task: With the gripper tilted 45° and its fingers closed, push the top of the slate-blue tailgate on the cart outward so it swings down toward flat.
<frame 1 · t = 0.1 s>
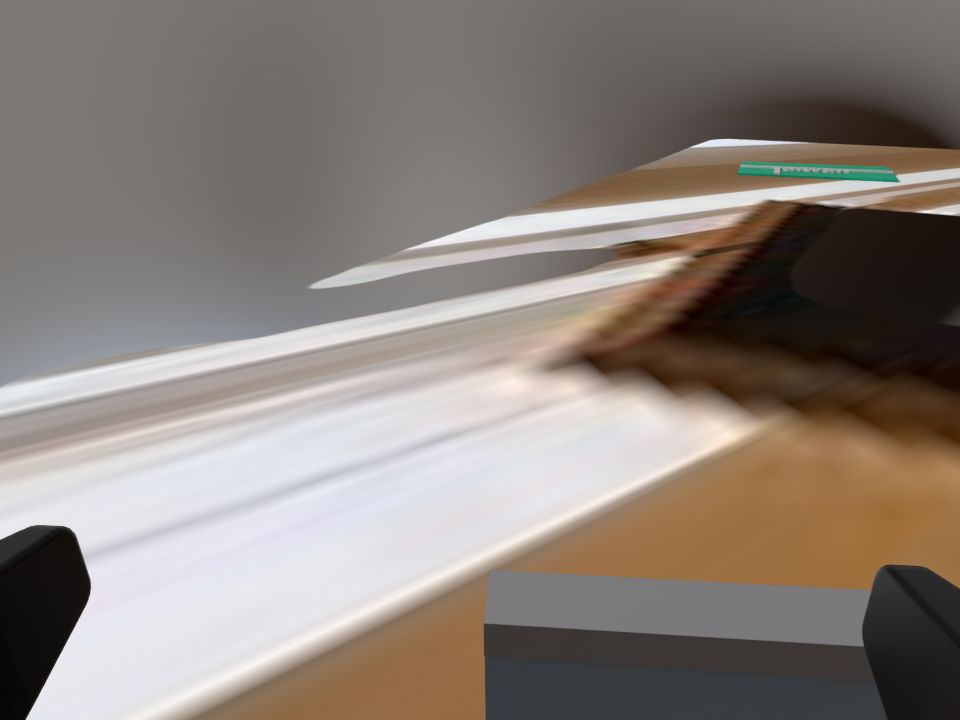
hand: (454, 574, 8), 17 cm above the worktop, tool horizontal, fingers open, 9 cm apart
sign: (812, 175, 131), on the worktop
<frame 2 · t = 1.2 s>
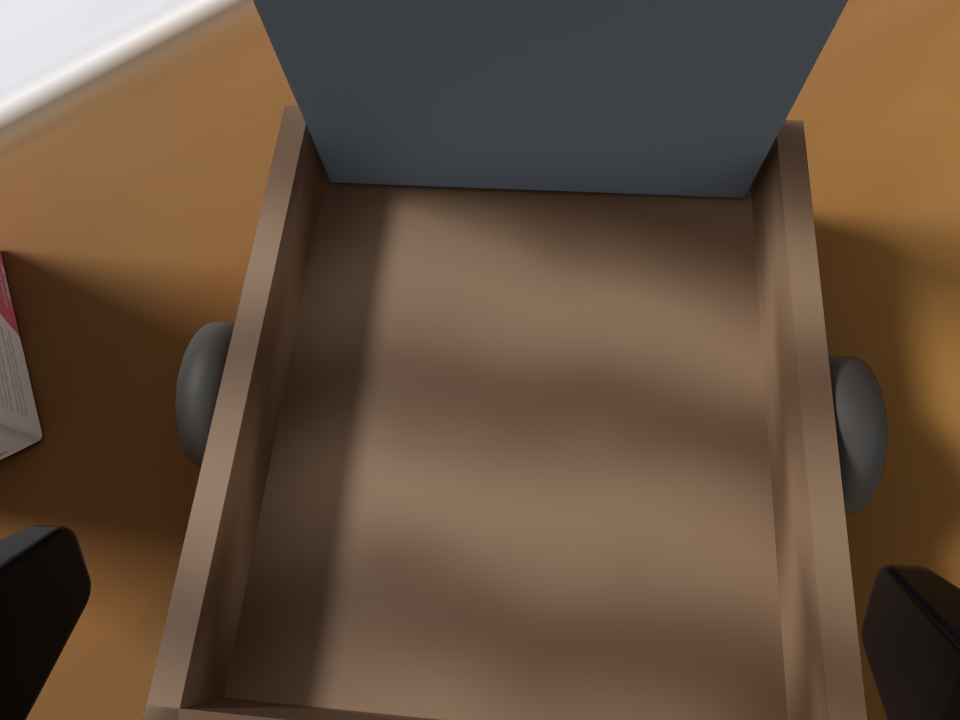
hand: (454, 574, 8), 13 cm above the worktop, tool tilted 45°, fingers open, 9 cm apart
tailgate: (537, 58, 18), point 7 cm above the worktop, hinge at 0.0°
cart: (518, 432, 22), on the worktop
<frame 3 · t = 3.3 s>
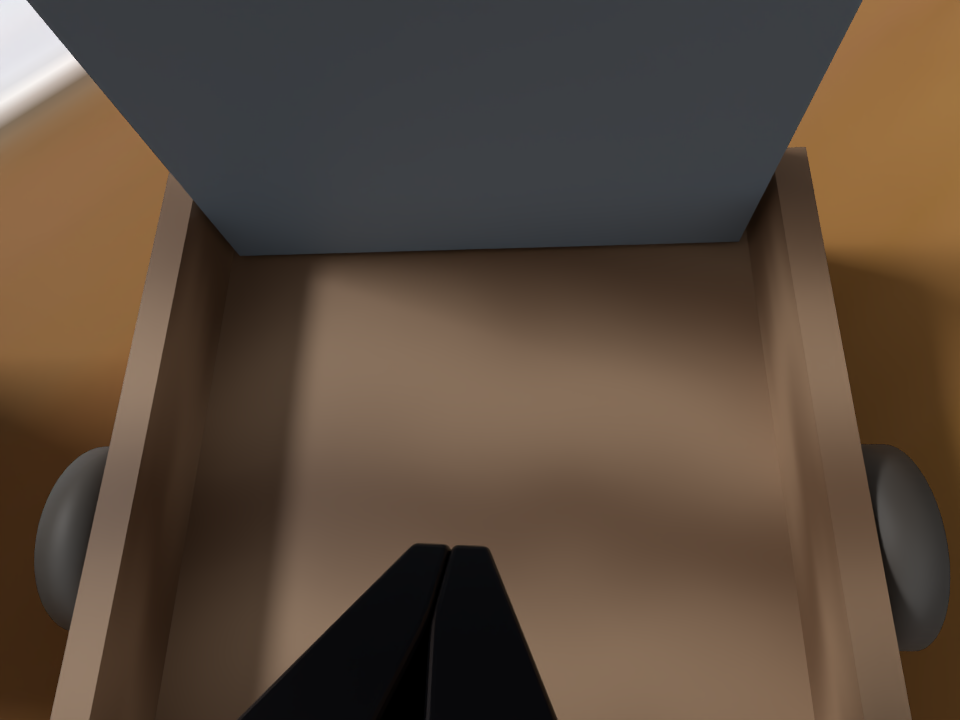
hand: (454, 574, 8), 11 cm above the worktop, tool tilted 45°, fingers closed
tailgate: (460, 99, 14), point 7 cm above the worktop, hinge at 0.0°
cart: (483, 549, 18), on the worktop
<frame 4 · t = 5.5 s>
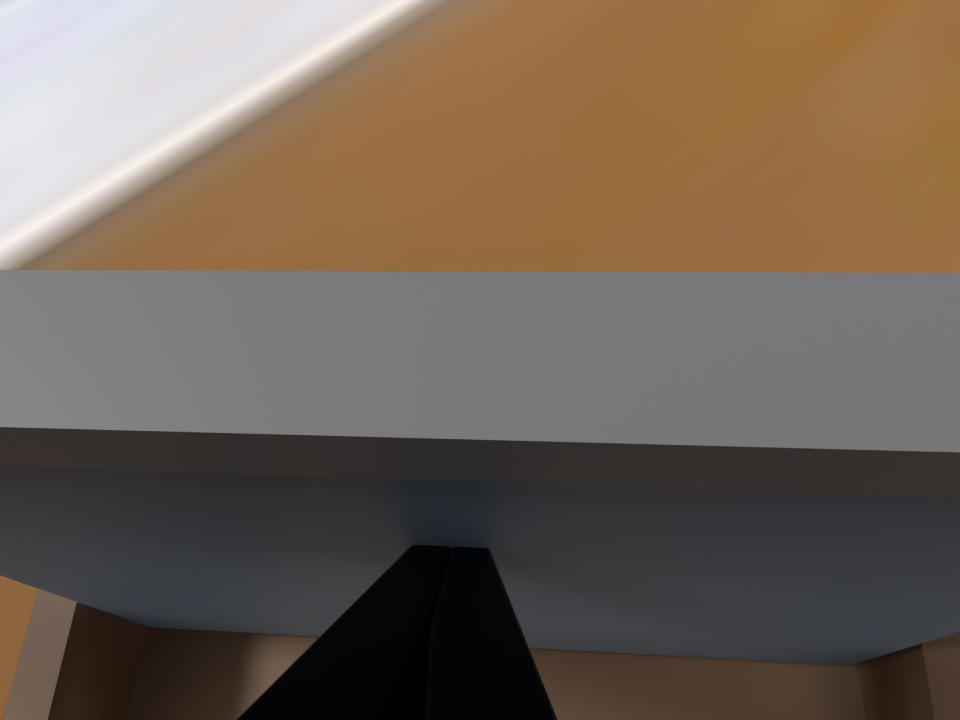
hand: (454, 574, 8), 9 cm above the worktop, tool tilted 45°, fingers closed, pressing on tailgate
tailgate: (460, 543, 9), point 7 cm above the worktop, hinge at 9.3°, touching gripper
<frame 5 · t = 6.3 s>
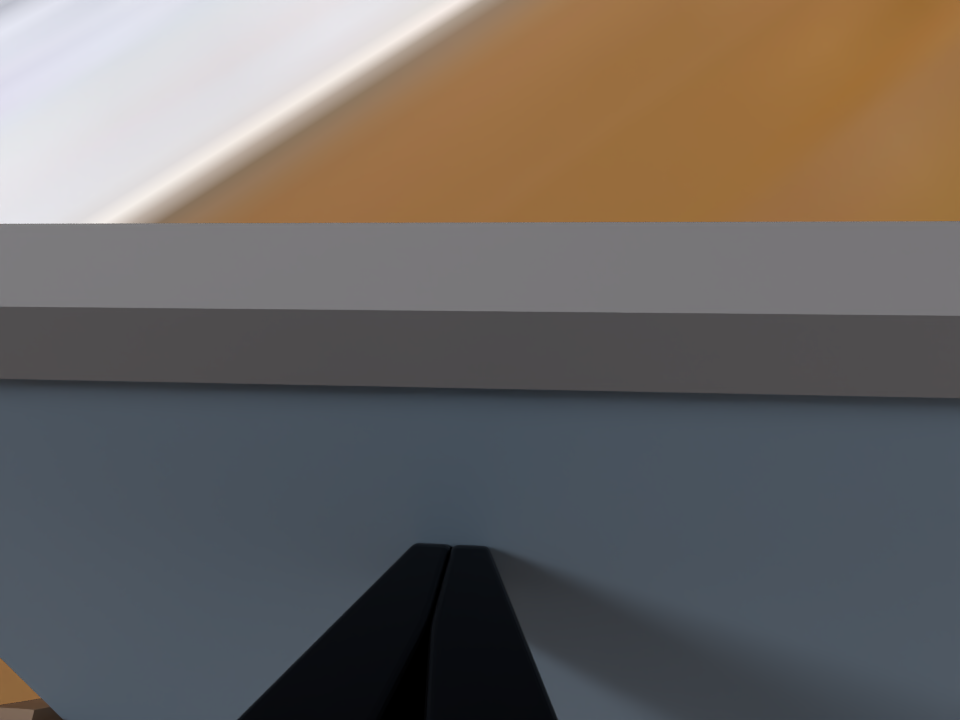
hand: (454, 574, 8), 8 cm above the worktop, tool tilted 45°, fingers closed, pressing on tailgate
tailgate: (458, 592, 9), point 7 cm above the worktop, hinge at 29.5°, touching gripper
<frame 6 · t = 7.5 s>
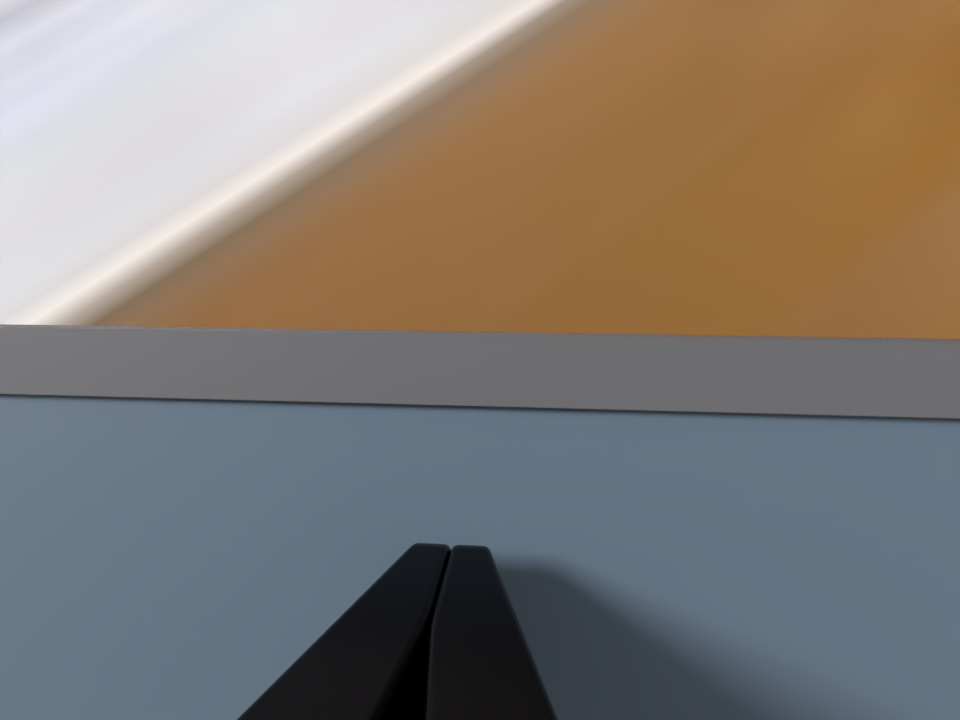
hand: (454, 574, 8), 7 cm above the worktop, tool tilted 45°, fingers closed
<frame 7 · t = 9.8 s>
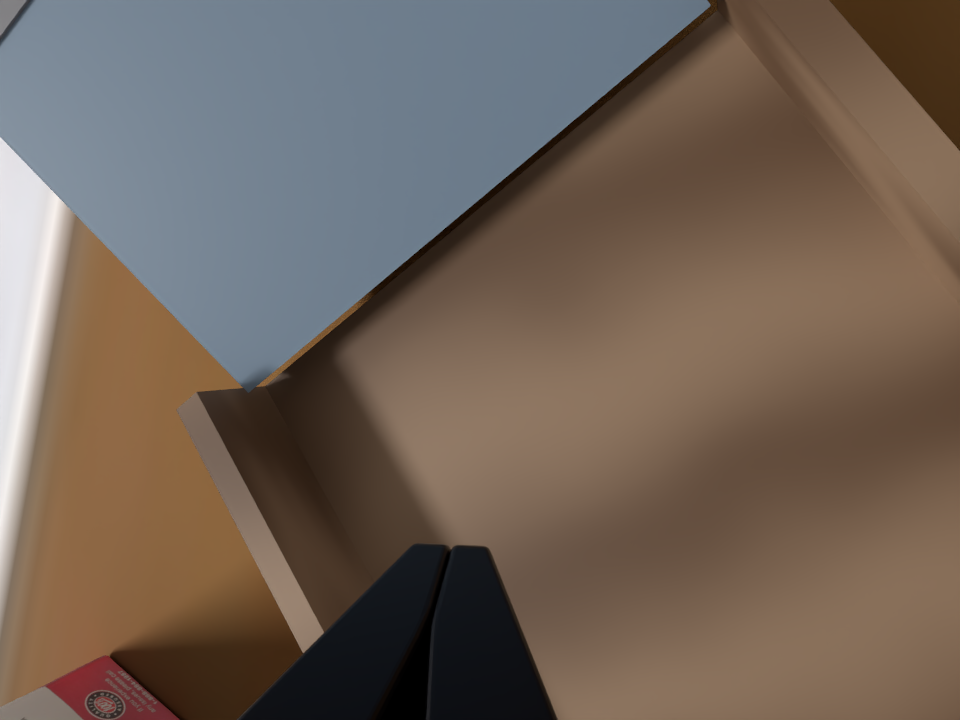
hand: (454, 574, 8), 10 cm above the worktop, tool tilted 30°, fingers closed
tailgate: (300, 40, 15), point 5 cm above the worktop, hinge at 65.1°
cart: (683, 527, 17), on the worktop
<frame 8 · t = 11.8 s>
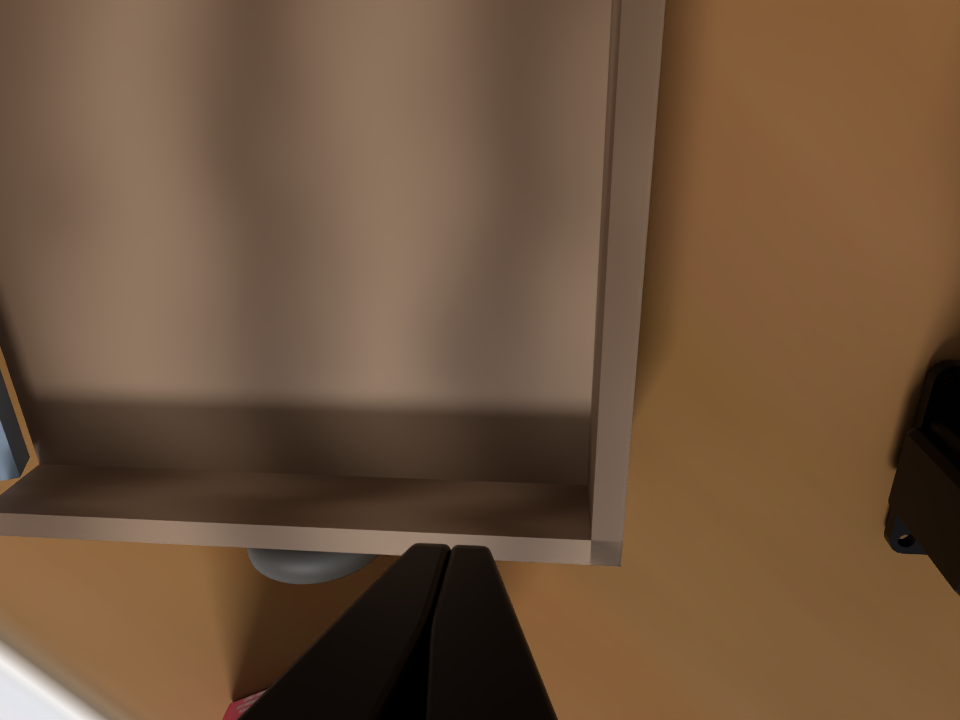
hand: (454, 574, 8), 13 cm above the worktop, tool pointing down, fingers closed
cart: (307, 224, 20), on the worktop
ink box: (345, 706, 28), on the worktop
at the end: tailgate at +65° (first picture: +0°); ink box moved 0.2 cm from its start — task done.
